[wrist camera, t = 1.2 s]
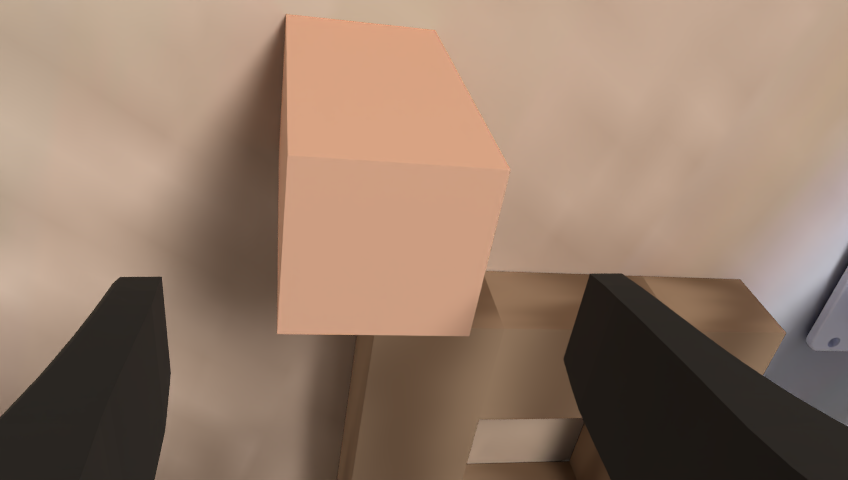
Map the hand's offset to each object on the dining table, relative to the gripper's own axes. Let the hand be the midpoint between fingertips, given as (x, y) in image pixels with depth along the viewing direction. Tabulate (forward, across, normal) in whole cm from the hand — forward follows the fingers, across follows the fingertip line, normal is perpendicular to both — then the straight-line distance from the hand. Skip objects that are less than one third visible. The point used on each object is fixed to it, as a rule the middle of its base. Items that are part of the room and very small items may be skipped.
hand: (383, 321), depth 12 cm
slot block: (+10, -8, +13) cm, 18 cm away
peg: (+10, 0, 0) cm, 10 cm away
